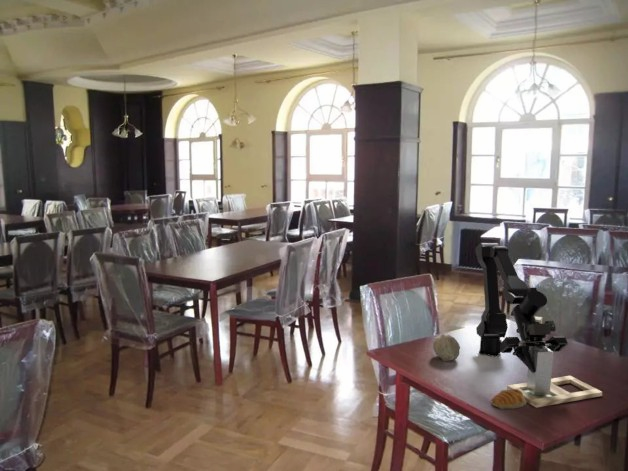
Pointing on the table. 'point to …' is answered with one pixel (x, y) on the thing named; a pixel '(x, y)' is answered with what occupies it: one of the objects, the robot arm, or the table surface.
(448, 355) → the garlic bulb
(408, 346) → the table surface
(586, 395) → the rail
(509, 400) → the pastry
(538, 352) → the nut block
